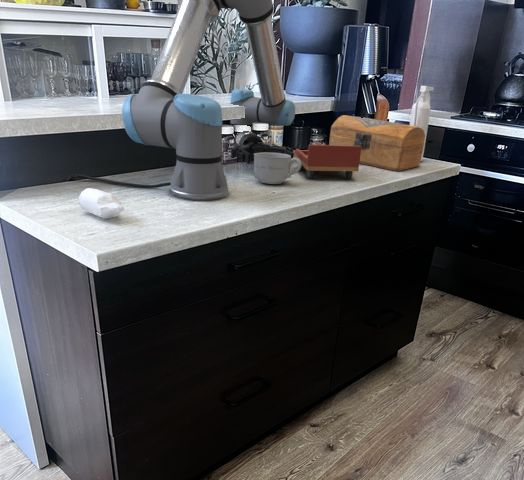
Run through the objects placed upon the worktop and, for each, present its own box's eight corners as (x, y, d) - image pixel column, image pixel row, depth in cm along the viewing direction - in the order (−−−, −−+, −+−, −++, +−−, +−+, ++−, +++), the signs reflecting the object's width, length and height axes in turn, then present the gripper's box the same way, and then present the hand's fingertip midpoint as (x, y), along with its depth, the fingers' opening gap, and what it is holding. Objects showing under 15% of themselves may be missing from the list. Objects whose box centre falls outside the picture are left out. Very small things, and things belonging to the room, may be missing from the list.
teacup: (246, 182, 152) (247, 154, 148) (263, 176, 160) (264, 148, 156) (289, 190, 147) (291, 160, 143) (304, 183, 155) (307, 155, 151)
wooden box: (324, 157, 192) (329, 116, 184) (350, 152, 202) (355, 113, 195) (395, 172, 174) (403, 128, 167) (420, 166, 185) (428, 124, 178)
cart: (306, 180, 158) (309, 145, 153) (293, 167, 174) (296, 134, 169) (356, 181, 161) (361, 146, 155) (339, 168, 177) (343, 135, 171)
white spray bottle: (395, 161, 192) (408, 85, 179) (410, 157, 200) (424, 84, 187) (412, 164, 188) (427, 87, 176) (426, 160, 196) (441, 86, 184)
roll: (109, 226, 112) (107, 200, 109) (79, 213, 119) (76, 188, 116) (133, 221, 116) (131, 196, 113) (102, 209, 123) (100, 185, 120)
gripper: (283, 156, 177) (308, 170, 160) (212, 157, 170) (230, 172, 153) (285, 133, 174) (310, 144, 157) (212, 133, 166) (230, 145, 149)
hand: (271, 158), depth 155 cm, fingers open, 13 cm apart
